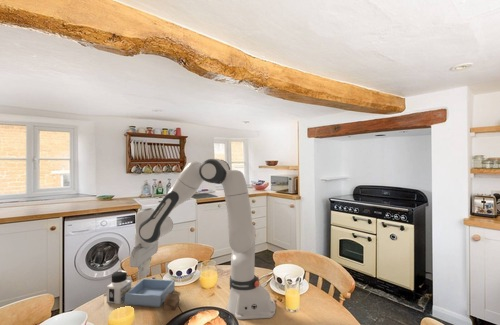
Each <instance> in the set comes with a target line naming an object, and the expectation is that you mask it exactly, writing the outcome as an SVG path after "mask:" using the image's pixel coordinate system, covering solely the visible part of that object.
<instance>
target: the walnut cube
mask: <svg viewBox="0 0 500 325" xmlns="http://www.w3.org/2000/svg"><path fill="white" fill-rule="evenodd" d="M163 304H164V310H165V311H176V310H177V308H178V307H179V305H180V293H175V292H172V293H169V294H168V295H167V296H166V298H165V300H164V303H163Z"/></svg>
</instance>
